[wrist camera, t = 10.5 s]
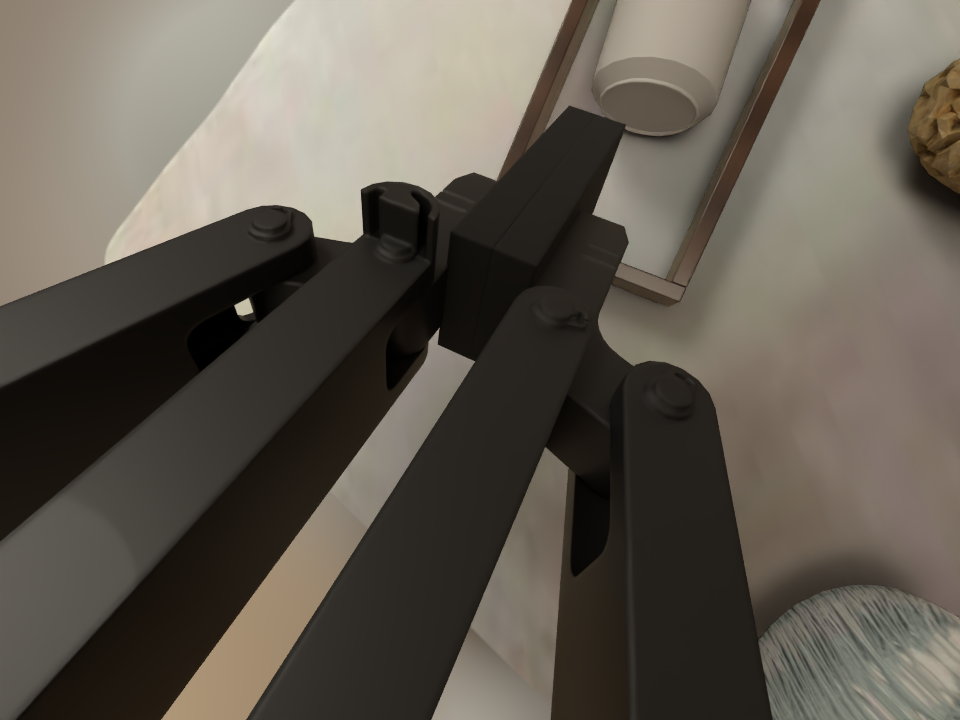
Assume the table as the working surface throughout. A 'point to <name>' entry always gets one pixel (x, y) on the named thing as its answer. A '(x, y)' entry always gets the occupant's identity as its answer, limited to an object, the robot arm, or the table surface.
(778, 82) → the walnut frame
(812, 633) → the streaked grey-green pebble
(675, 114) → the can
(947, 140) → the sponge
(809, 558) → the table surface
